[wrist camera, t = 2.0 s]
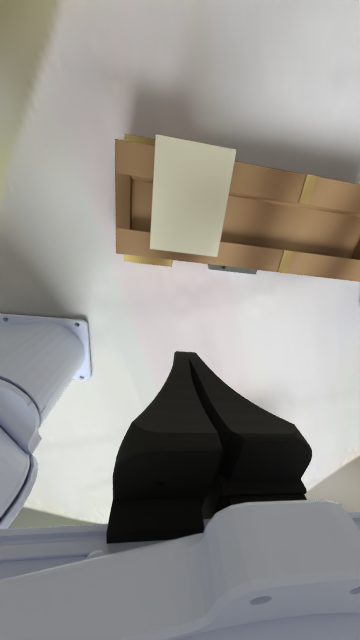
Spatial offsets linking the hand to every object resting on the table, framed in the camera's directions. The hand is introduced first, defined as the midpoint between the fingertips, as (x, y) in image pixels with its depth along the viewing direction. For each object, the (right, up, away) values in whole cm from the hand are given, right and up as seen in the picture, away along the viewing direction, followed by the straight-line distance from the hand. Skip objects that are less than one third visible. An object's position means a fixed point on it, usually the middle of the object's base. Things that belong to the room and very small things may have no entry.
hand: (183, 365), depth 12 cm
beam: (+6, +12, +6) cm, 15 cm away
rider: (0, +11, +3) cm, 12 cm away
